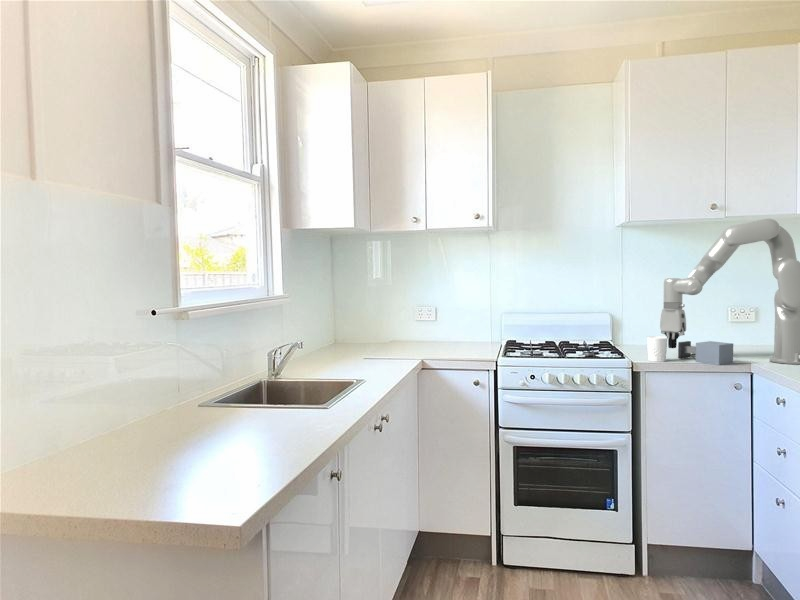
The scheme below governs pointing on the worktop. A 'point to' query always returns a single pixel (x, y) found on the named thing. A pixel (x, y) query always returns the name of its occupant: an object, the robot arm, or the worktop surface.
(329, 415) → the worktop surface
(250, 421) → the worktop surface
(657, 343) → the white cup
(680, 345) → the plunger
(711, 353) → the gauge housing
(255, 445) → the worktop surface
